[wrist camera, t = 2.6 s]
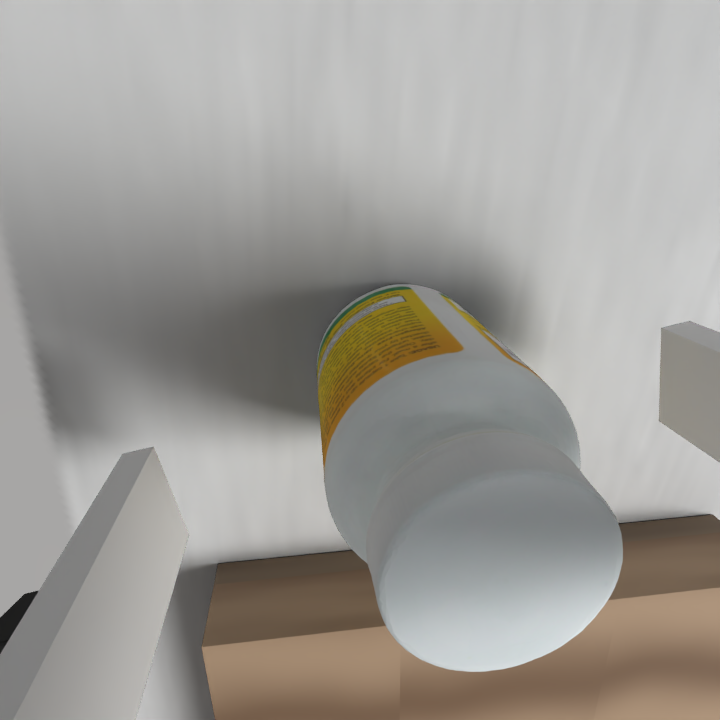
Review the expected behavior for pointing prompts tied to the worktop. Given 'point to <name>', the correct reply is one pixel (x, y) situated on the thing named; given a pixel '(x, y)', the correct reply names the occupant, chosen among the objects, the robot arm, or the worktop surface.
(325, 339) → the supplement bottle
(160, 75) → the worktop surface
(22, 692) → the robot arm
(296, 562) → the socket block
